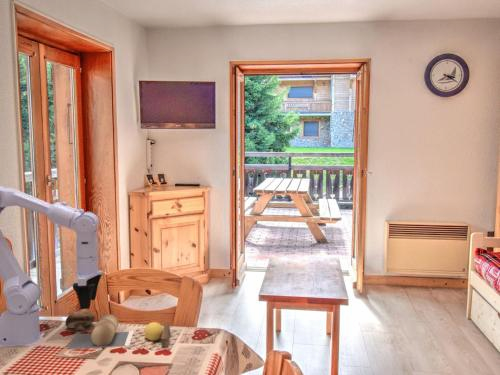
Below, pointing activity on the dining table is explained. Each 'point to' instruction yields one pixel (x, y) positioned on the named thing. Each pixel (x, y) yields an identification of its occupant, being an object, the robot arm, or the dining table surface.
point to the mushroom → (79, 320)
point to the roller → (104, 330)
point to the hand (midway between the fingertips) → (88, 304)
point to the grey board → (87, 342)
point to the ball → (153, 331)
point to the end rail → (165, 335)
